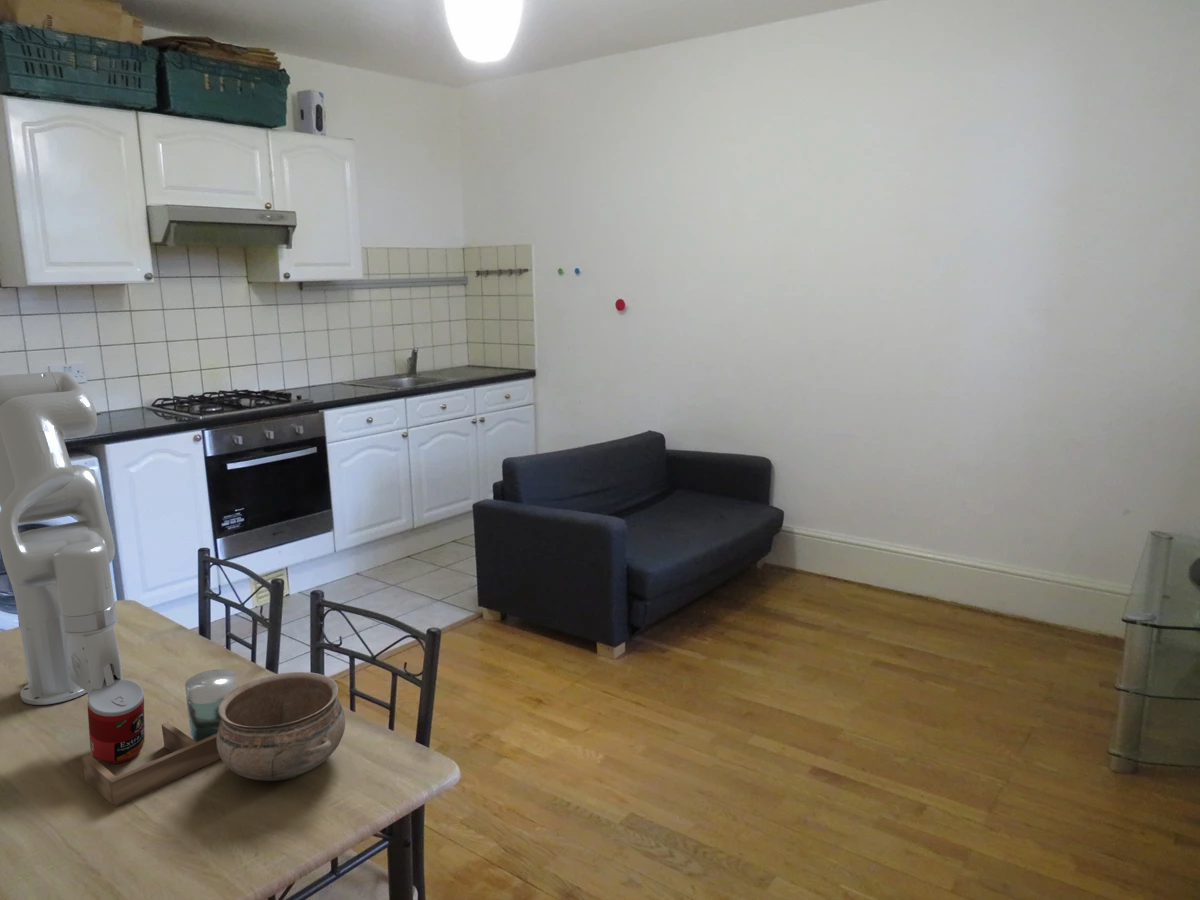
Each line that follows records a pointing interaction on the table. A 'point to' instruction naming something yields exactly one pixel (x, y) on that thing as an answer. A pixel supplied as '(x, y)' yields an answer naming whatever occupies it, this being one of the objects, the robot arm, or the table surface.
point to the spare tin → (207, 700)
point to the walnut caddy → (153, 767)
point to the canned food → (116, 721)
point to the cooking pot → (280, 725)
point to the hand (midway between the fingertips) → (104, 722)
